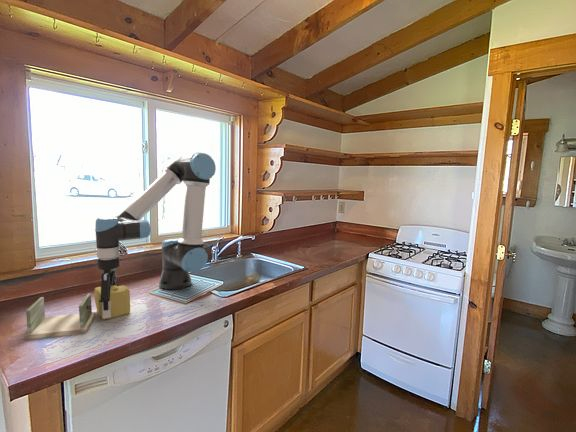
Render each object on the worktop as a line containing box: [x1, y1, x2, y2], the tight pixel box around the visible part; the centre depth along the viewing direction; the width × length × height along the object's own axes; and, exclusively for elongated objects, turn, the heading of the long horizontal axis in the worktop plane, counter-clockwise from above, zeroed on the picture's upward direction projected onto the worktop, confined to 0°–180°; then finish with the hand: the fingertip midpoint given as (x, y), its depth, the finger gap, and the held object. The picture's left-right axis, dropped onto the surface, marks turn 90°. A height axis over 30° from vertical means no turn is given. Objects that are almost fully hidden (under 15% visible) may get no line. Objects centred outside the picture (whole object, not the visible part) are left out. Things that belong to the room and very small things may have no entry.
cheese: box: [93, 285, 131, 320], centre depth 128 cm, size 10×11×10 cm
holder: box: [22, 292, 97, 341], centre depth 116 cm, size 18×14×10 cm
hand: (110, 310), depth 128 cm, fingers closed on cheese, 13 cm apart
